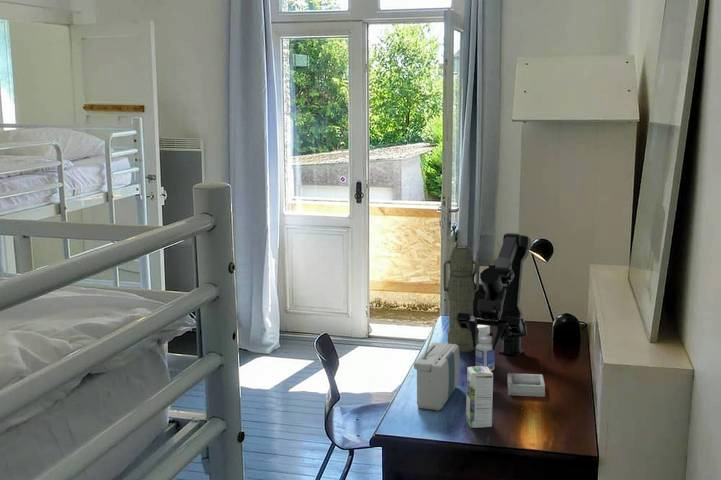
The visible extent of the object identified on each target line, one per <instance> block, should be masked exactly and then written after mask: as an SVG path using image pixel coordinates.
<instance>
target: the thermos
mask: <svg viewBox="0 0 721 480" xmlns="http://www.w3.org/2000/svg"><path fill="white" fill-rule="evenodd" d="M448 264H449V271H450V273H449V278H448V282H447V265H448ZM474 265H475V267H476V269H475V270H476V271H475V272H476V275H475V277H476V278H475V280H474V274H473V271H474ZM480 266H481V265H480V264H479V262H478V261H477V260H474V256H473V252H472V248H471V247H469V246H468V245H455V246H453V247H452V248H451V251H450V254H449V259H447V260H445V261H444V263H443V271H442V272H443V276H442V277H443V291H444V292H446V293H447V298H448V303H449V304H448V305H449V306H448V307H449V308H448V309H449V318H448V319H449V320H448V321H449V323H448V325H449V327H448V329H447V344H456V345H458V346H459V354H464V353H465V354H466V353H471V352H472V351H474V350H475V348H474V347H473V341H472V333H471V332H470V331H469V330H468V329H462V328H460V327H459V325H458V322H457V320H456V317H457V314H458V313H459V312H468V313H471V314H472V316H474V300H475V294H476V293H477V292H478V291H479V290H480ZM475 285H476V286H475Z"/></svg>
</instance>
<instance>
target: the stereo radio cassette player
mask: <svg viewBox="0 0 721 480" xmlns="http://www.w3.org/2000/svg"><path fill="white" fill-rule="evenodd" d="M437 323H438V321H437V320H435V324H434V326H433V329H432V331H431V334H430V337H429V339H428V342H427V345H426V348H425V351H423V353H422V354H420V356H419V357H418V358H417V359H416V360H415V362H414V364H413V368H414V369H415V370H416V405H417V408H419V409H426V410H431V411H436V412H437V411H439V410H441V409H442V408H443V407H444V406H445V404H446V403H447V401H448V399H449V398H450V397H451V395H452V394H453V393H454V391H455V389H457V387H458V385H459V381H460V371H461V370H460V368H461V367H460V362H461V361H460V353H459V346H458V345H456V344H448V342H432V343H431V340H432V338H433V335H434V332H435V329H436V325H437Z"/></svg>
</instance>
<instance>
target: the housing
mask: <svg viewBox="0 0 721 480" xmlns="http://www.w3.org/2000/svg"><path fill="white" fill-rule="evenodd" d="M545 385H546V384H545V379H544V375H543V374H540V373H539V374H537V373H535V374H533V373H510V372H507V391H508V392H507V394H508V396H517V397H519V396H520V397H540V398H541V397H546V386H545Z"/></svg>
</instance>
